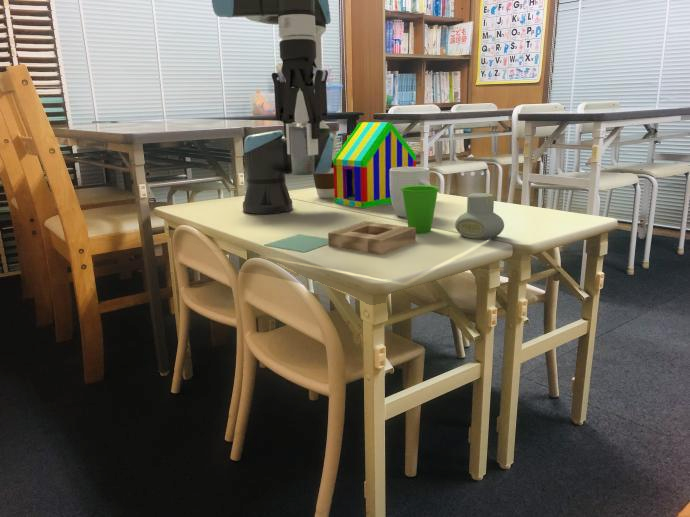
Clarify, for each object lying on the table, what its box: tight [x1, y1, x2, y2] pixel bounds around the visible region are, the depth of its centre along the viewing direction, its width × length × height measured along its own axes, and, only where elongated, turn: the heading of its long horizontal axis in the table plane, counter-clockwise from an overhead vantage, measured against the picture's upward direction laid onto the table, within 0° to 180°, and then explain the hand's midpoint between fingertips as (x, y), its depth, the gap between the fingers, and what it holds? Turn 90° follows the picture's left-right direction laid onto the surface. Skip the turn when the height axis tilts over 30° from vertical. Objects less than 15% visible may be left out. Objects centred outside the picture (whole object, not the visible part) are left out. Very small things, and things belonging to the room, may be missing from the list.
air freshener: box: [454, 192, 505, 240], centre depth 126 cm, size 11×8×10 cm
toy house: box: [332, 121, 417, 209], centre depth 176 cm, size 24×14×25 cm, turn 133°
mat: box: [263, 233, 329, 253], centre depth 124 cm, size 12×12×1 cm
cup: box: [401, 185, 440, 234], centre depth 131 cm, size 9×9×11 cm
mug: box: [390, 166, 432, 219], centre depth 150 cm, size 15×11×13 cm
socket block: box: [327, 221, 417, 256], centre depth 122 cm, size 14×14×4 cm
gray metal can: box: [290, 126, 315, 176], centre depth 119 cm, size 5×5×10 cm
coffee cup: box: [312, 159, 335, 199], centre depth 187 cm, size 11×11×12 cm
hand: (302, 154), depth 119 cm, fingers closed on gray metal can, 5 cm apart
